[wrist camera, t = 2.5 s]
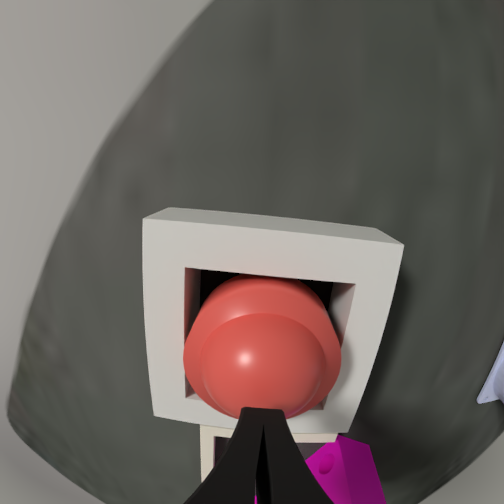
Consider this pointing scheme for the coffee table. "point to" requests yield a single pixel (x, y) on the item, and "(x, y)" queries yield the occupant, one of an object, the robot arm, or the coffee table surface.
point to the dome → (262, 347)
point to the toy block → (346, 472)
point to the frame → (211, 432)
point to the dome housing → (269, 264)
